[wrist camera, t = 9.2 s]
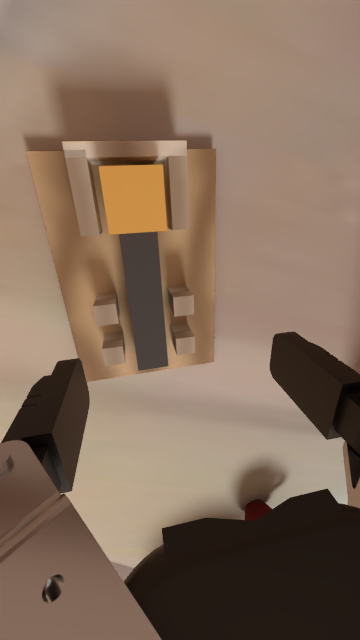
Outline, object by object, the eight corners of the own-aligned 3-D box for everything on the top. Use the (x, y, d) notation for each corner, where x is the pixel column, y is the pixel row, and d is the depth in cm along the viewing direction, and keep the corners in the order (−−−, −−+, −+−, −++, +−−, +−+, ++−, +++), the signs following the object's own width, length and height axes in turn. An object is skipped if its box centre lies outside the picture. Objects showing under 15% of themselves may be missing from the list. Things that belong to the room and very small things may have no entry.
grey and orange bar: (103, 174, 22) (98, 166, 17) (156, 173, 22) (162, 164, 18) (130, 354, 29) (131, 377, 25) (169, 348, 30) (176, 370, 26)
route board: (212, 151, 23) (230, 138, 19) (211, 357, 33) (223, 378, 29) (30, 153, 21) (7, 140, 17) (85, 377, 30) (79, 402, 26)
